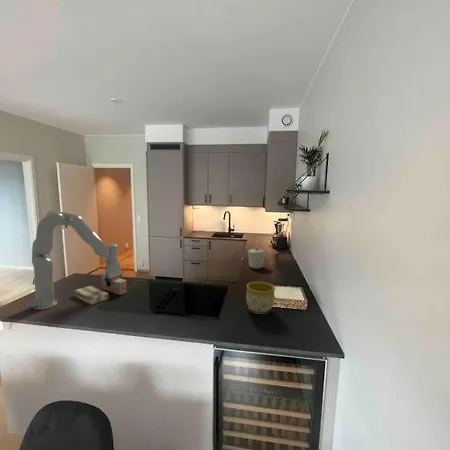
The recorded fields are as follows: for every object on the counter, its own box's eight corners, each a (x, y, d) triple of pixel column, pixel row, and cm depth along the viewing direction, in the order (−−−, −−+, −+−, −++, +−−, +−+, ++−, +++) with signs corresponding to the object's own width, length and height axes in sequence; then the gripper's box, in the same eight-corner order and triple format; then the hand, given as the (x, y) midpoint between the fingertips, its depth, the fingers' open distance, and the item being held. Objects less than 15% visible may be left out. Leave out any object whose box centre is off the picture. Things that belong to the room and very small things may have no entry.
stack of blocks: (127, 292, 186) (126, 276, 185) (119, 295, 181) (119, 278, 179) (108, 286, 197) (108, 270, 195) (101, 288, 192) (100, 272, 190)
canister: (257, 271, 249) (259, 249, 246) (243, 267, 261) (244, 246, 258) (268, 267, 262) (269, 247, 259) (253, 263, 274) (254, 244, 271)
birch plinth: (91, 304, 165) (91, 298, 165) (74, 295, 177) (73, 290, 177) (108, 298, 175) (108, 293, 174) (91, 290, 187) (91, 285, 187)
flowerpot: (253, 319, 154) (255, 293, 152) (240, 306, 170) (241, 282, 168) (279, 315, 161) (280, 289, 158) (264, 303, 177) (265, 280, 175)
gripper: (103, 264, 177) (104, 289, 180) (126, 259, 191) (126, 282, 194) (98, 262, 181) (98, 287, 184) (120, 257, 196) (120, 280, 198)
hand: (113, 284), depth 189 cm, fingers closed on stack of blocks, 6 cm apart
